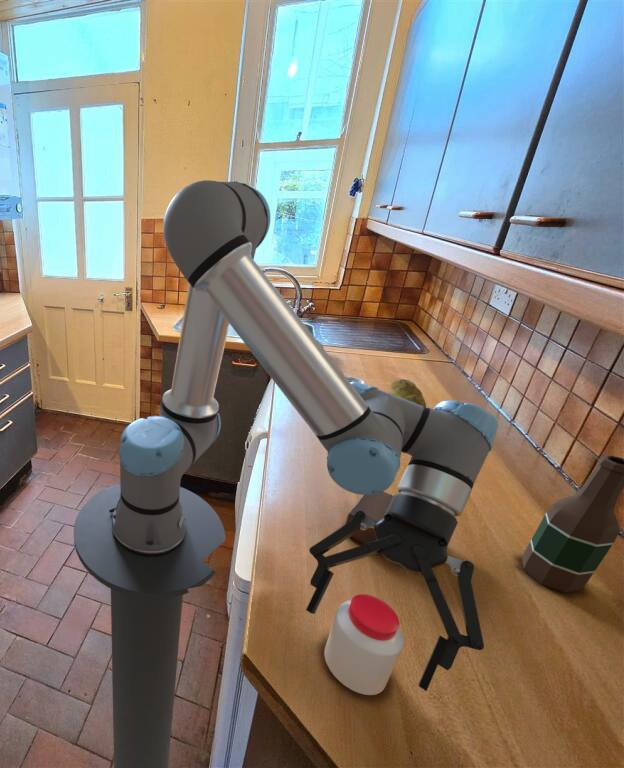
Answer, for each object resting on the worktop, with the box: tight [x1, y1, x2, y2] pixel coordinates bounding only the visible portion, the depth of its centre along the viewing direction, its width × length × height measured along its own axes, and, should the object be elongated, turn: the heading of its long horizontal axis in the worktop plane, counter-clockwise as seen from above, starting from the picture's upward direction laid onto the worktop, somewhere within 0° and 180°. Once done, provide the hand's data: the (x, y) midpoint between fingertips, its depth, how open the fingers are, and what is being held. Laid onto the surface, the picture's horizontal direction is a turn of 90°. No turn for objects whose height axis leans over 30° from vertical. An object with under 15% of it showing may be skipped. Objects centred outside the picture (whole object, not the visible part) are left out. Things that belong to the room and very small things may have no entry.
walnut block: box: [344, 491, 394, 545], centre depth 78 cm, size 12×12×5 cm
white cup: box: [345, 375, 365, 384], centre depth 124 cm, size 7×7×10 cm
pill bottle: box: [323, 593, 405, 696], centre depth 55 cm, size 8×8×11 cm
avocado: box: [389, 379, 427, 407], centre depth 125 cm, size 8×13×8 cm, turn 159°
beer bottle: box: [521, 454, 624, 593], centre depth 65 cm, size 8×8×24 cm
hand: (361, 646), depth 54 cm, fingers open, 13 cm apart
